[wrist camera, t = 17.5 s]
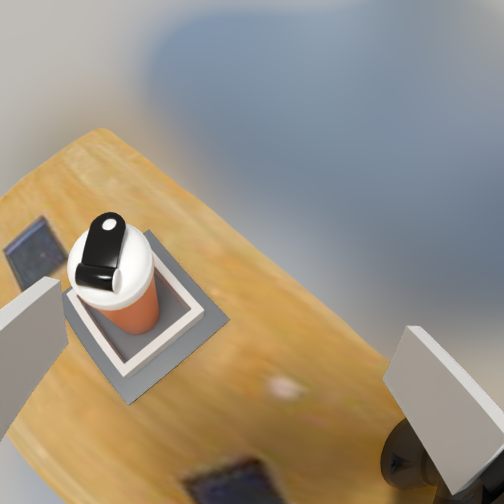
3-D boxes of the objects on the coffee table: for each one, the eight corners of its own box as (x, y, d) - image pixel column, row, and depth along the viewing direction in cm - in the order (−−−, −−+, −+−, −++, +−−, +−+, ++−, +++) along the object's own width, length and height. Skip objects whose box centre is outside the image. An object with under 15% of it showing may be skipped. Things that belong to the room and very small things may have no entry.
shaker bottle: (165, 283, 43) (152, 204, 26) (166, 341, 39) (147, 296, 22) (110, 283, 41) (67, 206, 24) (107, 340, 37) (49, 294, 20)
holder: (228, 320, 43) (233, 311, 39) (129, 405, 34) (121, 406, 30) (149, 232, 48) (146, 215, 43) (57, 301, 38) (44, 290, 34)
